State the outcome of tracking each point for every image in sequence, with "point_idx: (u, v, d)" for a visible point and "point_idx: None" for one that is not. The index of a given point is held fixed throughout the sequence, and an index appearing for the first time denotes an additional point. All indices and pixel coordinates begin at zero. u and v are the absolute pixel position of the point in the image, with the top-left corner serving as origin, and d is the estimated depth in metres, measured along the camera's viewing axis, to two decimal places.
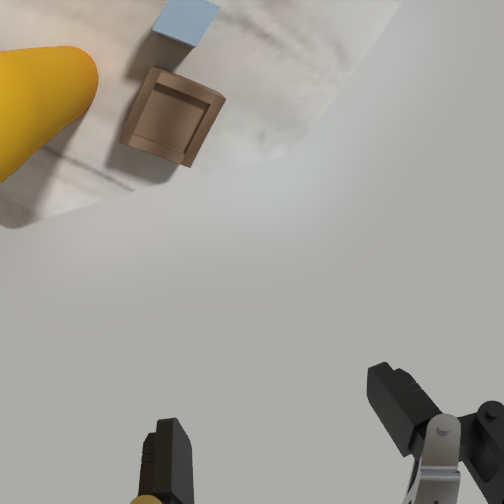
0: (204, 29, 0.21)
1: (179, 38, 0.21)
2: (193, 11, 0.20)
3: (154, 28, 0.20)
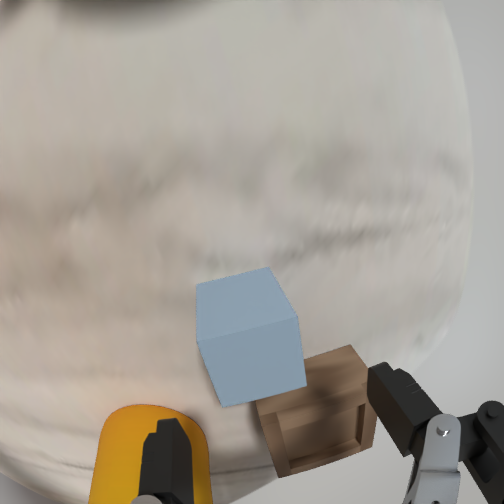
0: (300, 361, 0.14)
1: (273, 393, 0.14)
2: (260, 353, 0.13)
3: (225, 404, 0.14)
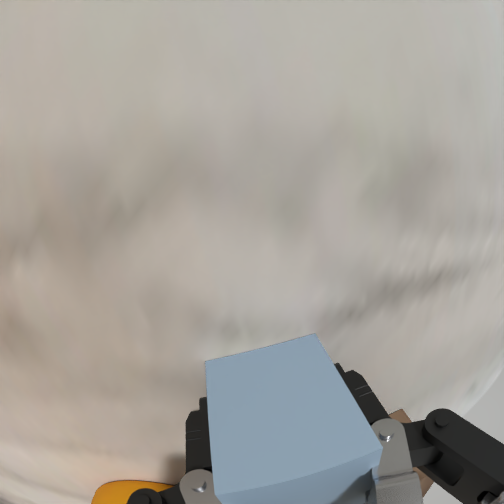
0: (368, 486, 0.07)
1: None
2: (316, 492, 0.07)
3: None
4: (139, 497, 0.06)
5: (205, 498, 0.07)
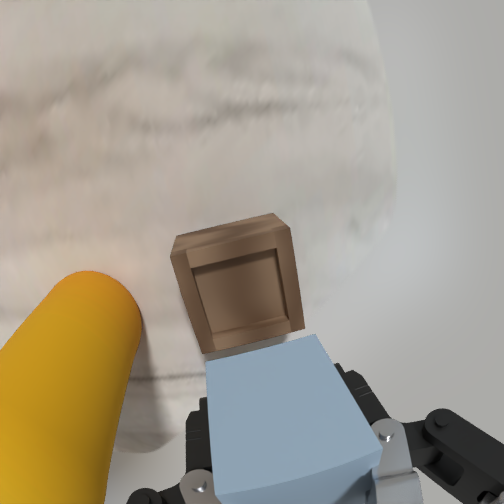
0: (368, 487, 0.07)
1: None
2: (316, 493, 0.07)
3: None
4: (139, 497, 0.06)
5: (205, 498, 0.07)
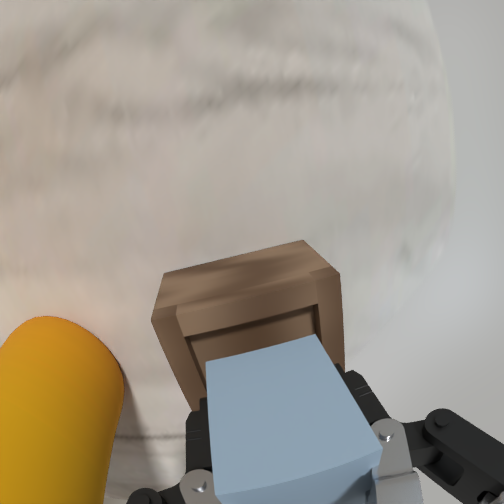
0: (368, 487, 0.07)
1: None
2: (316, 493, 0.07)
3: None
4: (139, 497, 0.06)
5: (205, 498, 0.07)
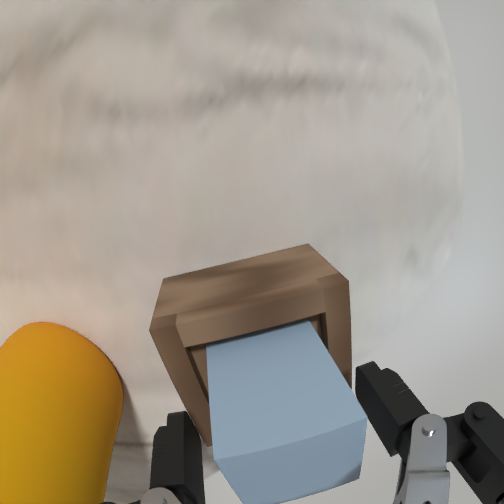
0: (358, 460, 0.08)
1: (316, 492, 0.09)
2: (307, 462, 0.08)
3: None
4: None
5: None
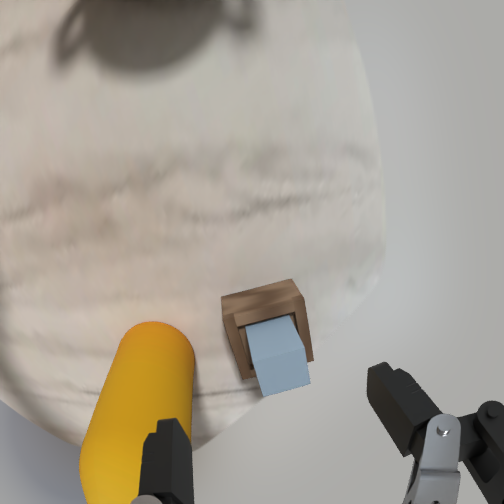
0: (306, 370, 0.25)
1: (292, 388, 0.26)
2: (285, 366, 0.25)
3: (265, 395, 0.26)
4: None
5: None
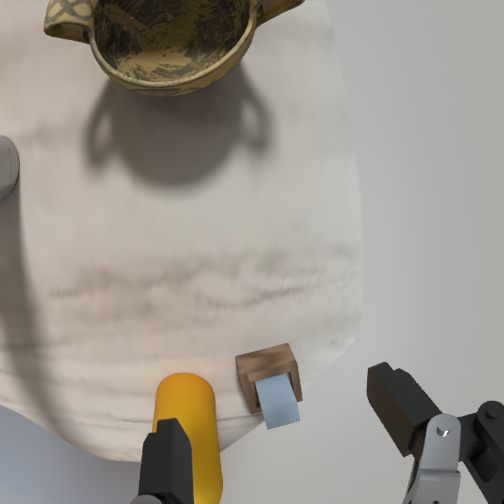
0: (297, 413, 0.36)
1: (287, 423, 0.36)
2: (283, 411, 0.35)
3: (268, 428, 0.36)
4: None
5: None
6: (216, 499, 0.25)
